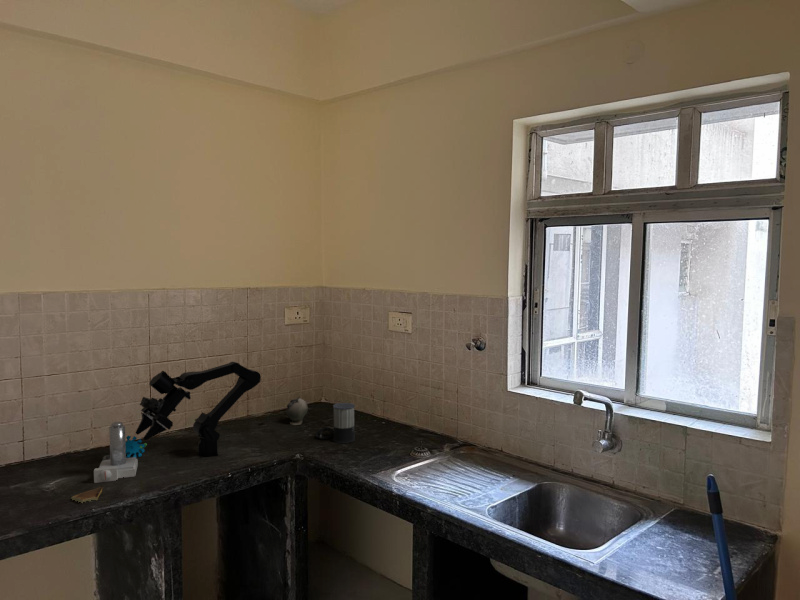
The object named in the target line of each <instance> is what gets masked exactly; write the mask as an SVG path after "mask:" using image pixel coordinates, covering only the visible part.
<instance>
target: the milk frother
mask: <svg viewBox="0 0 800 600" xmlns="http://www.w3.org/2000/svg"><path fill="white" fill-rule="evenodd" d="M355 406H356V405H355V404H354V403H350V402H341V403H340V402H338V403H335V404H333V405H332V407H333V429H332V428H331V427H322V428H320V429H318V430H317V431H316V433H315V436H316V438H317V439H320V440H328V439H330V438H332V437H333V439H332V441H333V442H335V443H338V444H349V443H353V442H355V441H356V436H355ZM325 431H327V432H329V433H330V434H329V435H326V436H325V435H324V432H325Z"/></svg>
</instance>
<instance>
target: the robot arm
mask: <svg viewBox="0 0 800 600" xmlns="http://www.w3.org/2000/svg"><path fill="white" fill-rule="evenodd" d="M232 374H235V375H236V376H237V377H238V378H237V381H236V382H235V385H234V386H233V388H232V389H230V390H229V391H228V392H227V394H226V395H225V396H224V397H223V398H222V399H221V400H220V401H219V402H218V403H217V404H216V405H215V406H214V407H213V409H211V411H209V412H208V413H204V412H201V413H200V415H199V416H198V417H197V418H195V419H194V421H195V422H194V423H193V424H192V429H193V432H194V433H195V434H196V435H197V436H198V438H199V442H198V455H199V457H200V458H204V457H206V458H207V457H214V456H218V455H219V453H218V452H219V451H218V440H219V438H220V436H221V434H220V433H219V432H218V431H216V429H217V427H218V425H219V421H220V420H221V418H222V417H224V416H225V414H226V413H228V411H229V410H230V409H231V408H232V407H233V406H234V405H235V404H236V403H237V402H238V400H239V399H240V398H241V397H242V396H243V395H244V394H245V393H246V392H248V391H250V390H252V389H254V388H255V387H256V386H257V385H259V384H260V382H261V378H262V377H261V374H260V372H258V371H255V370H253V369H249V368H247V367H246V366H243V365H242V364H240V363H239V362H236V361H230V362H228V363H225V364H222V365H218V366H216V367H211V368H208V369H205V370H199V371H186V372H183V373H181V374H180V375H179V376H176V377H171V376H170V375H169V374H168V373H167V372H166V371H164V370H162V371H160V372H159V373H157V374H156V375H155V376H153V377H152V378H151V379H150V381H149V383H148V384H149V386H151V387H152V388H153V389H154V390H155V391H157V392H158V393H159V394H160V395H164V394H165V396H164V397H163V398H158V399H157V398H154V397H150V398H148V397H145V396H142V399H141V400H140V403H139V406H142V409H141V410H140V411H141V412H140V414H141V420H140V422H139V425H138V427H137V429H136V430H135V435H139V434H142V433H143V432H144V431H145V430H147V429H148V430H147V432H146V433H145V435H144V437H143V438H142V439H143V440H144V441H147V440H149V439H151V438H153V437H155V436H157V435H159V434H161V433H163V432H167V431H168V430H171V429H172V428H173V426H174V423H173V421H172V420H171V419H170V418H169V416H170V415H172V413H173V412H174V413H175V412H176V411H177V409H176V408H177V407H178V406H179V405H180V403H181V402H182V401H183V400H184V398H185V399H187V400H191V399H192V398H191V392H190V391H191V390H192V391H193V390H195V389H197V388H199V387H201V386H202V385H204V383H207V382H209V381H212V380H215V379H219V378H222V377H225V376H228V375H232ZM176 386H179V387H176ZM183 388H184V389H186V390H184V389H183ZM187 390H189V391H187Z"/></svg>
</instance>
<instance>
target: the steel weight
mask: <svg viewBox="0 0 800 600" xmlns="http://www.w3.org/2000/svg"><path fill="white" fill-rule="evenodd" d="M110 425H111V426H110V427H109V428H108V429H109V455H110V459H109V460H110V465H112V466H118V465H123V464H125V463H126V458H127V457H126V445H125V441H126V426H125V425H124V423H123V421H116V422H112V423H111V424H110Z"/></svg>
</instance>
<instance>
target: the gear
mask: <svg viewBox="0 0 800 600" xmlns="http://www.w3.org/2000/svg"><path fill="white" fill-rule="evenodd" d="M131 437H132V436H131V435H127V436H125V439H126V440H125V445H126V455H127V456H126V458H131V455H133V456H132V457H136V458H137V457H138V458H141V457H142V456H143V453H145V448H146V447H147V445H148V444H147V443H146V442H145V443H142V442H143V441H142V439H141V438H139V439H138V440H137V436H133V437H132V439H131ZM130 439H131V440H130Z"/></svg>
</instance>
